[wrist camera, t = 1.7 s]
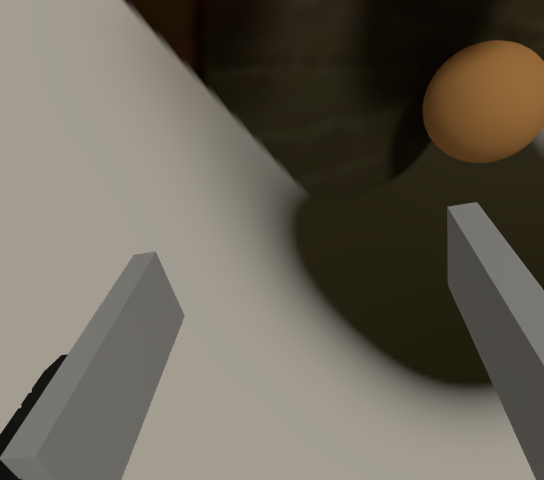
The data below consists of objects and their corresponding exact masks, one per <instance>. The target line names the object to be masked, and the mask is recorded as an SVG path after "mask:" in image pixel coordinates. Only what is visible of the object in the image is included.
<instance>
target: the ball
mask: <svg viewBox="0 0 544 480" xmlns="http://www.w3.org/2000/svg"><path fill="white" fill-rule="evenodd" d="M423 121H424V125H425V128H426V131H427V133H428V135H429V137H430V138H431V140H432V141H433V143H434V144H435V145H436V146H437V147H438V148H439V149H440V150H441V151H443V152H444V153H446V154H447V155H449V156H451V157H453V158H455V159H458V160H461V161H465V162H472V163H485V162H492V161H496V160H500V159H503V158H506V157H508V156H511V155H513V154H515V153H516V152H518V151H520V150H521V149H522V148H524V147H525V146H527V145H528V144H529V143H530V142H531V141H532V140H533V139H534V138H535V137H536V136H537V135H538V133H539V132H540V131H541V129H542V128H543V127H544V61H543V60H542V59H541V58H540V57H539V56H538V55H537V54H536V53H535V52H534V51H532V50H531V49H529V48H527V47H525V46H523V45H521V44H518V43H515V42H510V41H501V40H494V41H486V42H481V43H478V44H474V45H471V46H469V47H467V48H464V49H463V50H461V51H459V52H457V53H456V54H454V55H453V56H452V57H450V58H449V59H448V60H447V61H446V62H445V63H444V64H443V65H442V66H441V67H440V68H439V69H438V70H437V72H436V73H435V75H434V76H433V78H432V79H431V81H430V83H429V85H428V87H427V90H426V93H425V96H424V101H423Z"/></svg>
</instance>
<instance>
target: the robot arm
mask: <svg viewBox="0 0 544 480" xmlns="http://www.w3.org/2000/svg"><path fill="white" fill-rule="evenodd" d="M447 213H448V215H447V216H448V286H449V288H450V290H451V292H452V294H453V296H454V299H455V301H456V303H457V306H458V308H459V310H460V312H461V315H462V317H463V319H464V321H465V323H466V326H467V328H468V330H469V332H470V334H471V336H472V339H473V341H474V343H475V345H476V348H477V350H478V352H479V354H480V357H481V359H482V361H483V363H484V365H485V368H486V370H487V372H488V374H489V376H490V379H491V381H492V383H493V385H494V387H495V390H496V392H497V394H498V396H499V398H500V401H501V403H502V405H503V407H504V410H505V412H506V414H507V416H508V418H509V420H510V423H511V425H512V427H513V429H514V432H515V434H516V436H517V438H518V441H519V443H520V445H521V447H522V449H523V452H524V454H525V456H526V458H527V460H528V463H529V465H530V467H531V469H532V472H533V473H534V476H535V478H536V480H544V290H543V289H542V288H541V286H540V285H539V284H538V283H537V281H536V280H535V279H534V277H533V276H532V274H531V273H530V272H529V270H528V269H527V268H526V267H525V265H524V264H523V263H522V261H521V260H520V259H519V257H518V256H517V255H516V253H515V252H514V251H513V249H512V248H511V247H510V245H509V244H508V243H507V242H506V240H505V239H504V238H503V236H502V235H501V234H500V232H499V231H498V230H497V228H496V227H495V226H494V224H493V223H492V222H491V220H490V219H489V218H488V217H487V215H486V214H485V213H484V211H483V210H482V208H481V207H480V206H479V204H478V203H470V204H463V205H457V206H450V207H447ZM183 318H184V314H183V312H182V309H181V307H180V305H179V303H178V300H177V298H176V296H175V294H174V292H173V289H172V287H171V285H170V283H169V280H168V278H167V276H166V274H165V271H164V269H163V267H162V265H161V262H160V260H159V258H158V256H157V254H156V252H151V253H144V254H137V255H134V256H133V257H132V259H131V260H130V262H129V263H128V265H127V266H126V268H125V269H124V271H123V272H122V274H121V275H120V277H119V278H118V280H117V281H116V283H115V284H114V286H113V287H112V289H111V290H110V292H109V293H108V295H107V296H106V298H105V300H104V301H103V302H102V304H101V305H100V307H99V309H98V310H97V311H96V313H95V314H94V316H93V318H92V319H91V321H90V322H89V324H88V325H87V327H86V328H85V330H84V331H83V333H82V334H81V336H80V337H79V339H78V340H77V342H76V343H75V345H74V346H73V348H72V349H71V351H70V352H69V354H68V355H61V356H60V357H59V358H58V359H57V360H56V361H55V362H54V363H53V364H52V365H51V366H49V367H48V369H46V370H45V371H44V372H43V374H42V375H41V377H40V378H39V379H38V381H37V382H36V384H35V385H34V387H33V388H32V392H31V393H29V394H28V395H27V397H26V398H25V400H24V401H23V403H22V404H21V405H22V407H21V408H19V409H18V410H17V411H16V413H15V414H14V416H13V417H12V418H11V420H10V421H9V423H8V424H7V426H6V427H5V428H4V430H3V431H2V433H1V434H0V480H121V479H122V476H123V474H124V471H125V468H126V466H127V463H128V461H129V458H130V455H131V453H132V450H133V447H134V445H135V442H136V440H137V437H138V435H139V432H140V430H141V427H142V424H143V422H144V419H145V417H146V414H147V412H148V409H149V406H150V404H151V401H152V398H153V396H154V393H155V391H156V388H157V386H158V383H159V380H160V378H161V375H162V373H163V370H164V367H165V365H166V362H167V360H168V357H169V354H170V352H171V349H172V347H173V344H174V342H175V339H176V337H177V334H178V331H179V329H180V326H181V324H182V321H183Z"/></svg>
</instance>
